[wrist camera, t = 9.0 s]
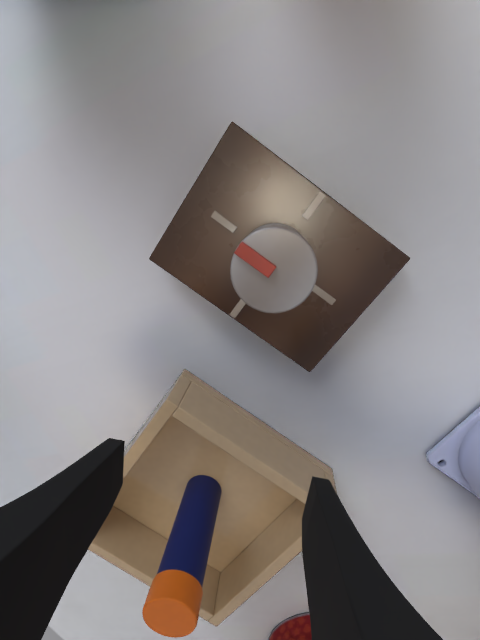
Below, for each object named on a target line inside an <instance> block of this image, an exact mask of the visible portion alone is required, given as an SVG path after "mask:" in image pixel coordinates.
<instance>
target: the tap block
mask: <svg viewBox="0 0 480 640" xmlns="http://www.w3.org/2000/svg"><path fill="white" fill-rule="evenodd" d="M270 223H281V224H285V225H288V226H290V227H292V228H294V229H296V230H297V231H298V232H299V233H300V234H301V235H302V236H303V237H304V238H305V240H306V241H307V242H308V243H309V245H310V246H311V248H312V249H313V251H314V254H315V257H316V260H317V268H318V272H317V279H316V283H315V286H314V288H313V290H312V292H311V293H310V295H309V296H308V297H307V298H306V300H305V301H304V302H302V303H301V304H300V305H299V306H297V307H295V308H293V309H291V310H289V311H286V312H282V313H265V312H261V311H258V310H256V309H253V308H252V307H250V306H248V305H247V304H246V303H245V302H244V301H243V300H242V299H241V298H240V297H239V296H238V294H237V293H236V291H235V289H234V287H233V284H232V280H231V274H230V266H231V260H232V257H233V254H234V252H235V250H236V248H237V247H238V245H239V244H240V243H241V241H242V240H243V239H244V238H246V237H247V236H248V235H249V234H250V233H251V232H253V231H254V230H255V229H257V228H258V227H260V226H263V225H266V224H270ZM149 259H150V260H151V261H153V262H154V263H156V264H157V265H158V266H160V267H161V268H163V269H164V270H165V271H167V272H168V273H170V274H171V275H173V276H174V277H175V278H177V279H178V280H180V281H181V282H182V283H184V284H185V285H187V286H188V287H190V288H191V289H192V290H194V291H195V292H197V293H198V294H199V295H201V296H202V297H204V298H205V299H207V300H208V301H209V302H211V303H212V304H214V305H215V306H217V307H218V308H219V309H221V310H222V311H224V312H225V313H226V314H228V315H229V316H231V317H232V318H234V319H235V320H236V321H238V322H239V323H241V324H242V325H243V326H245V327H246V328H248V329H249V330H251V331H252V332H253V333H255V334H256V335H258V336H259V337H260V338H262V339H263V340H265V341H266V342H268V343H269V344H270V345H272V346H273V347H275V348H276V349H277V350H279V351H280V352H282V353H283V354H285V355H286V356H287V357H289V358H290V359H292V360H293V361H294V362H296V363H297V364H299V365H300V366H302V367H303V368H304V369H306V370H307V371H309V372H310V371H311V370H312V369H313V368H314V367H315V366H316V365H317V364H318V362H319V361H320V360H321V359H322V358H323V357H324V356H325V355H326V353H327V352H328V351H329V350H330V349H331V348H332V347H333V346H334V344H335V343H336V342H337V341H338V340H339V339H340V338H341V336H342V335H343V334H344V333H345V332H346V331H347V330H348V329H349V327H350V326H351V325H352V324H353V323H354V322H355V321H356V320H357V318H358V317H359V316H360V315H361V314H362V313H363V312H364V310H365V309H366V308H367V307H368V306H369V305H370V304H371V303H372V301H373V300H374V299H375V298H376V297H377V296H378V295H379V294H380V292H381V291H382V290H383V289H384V288H385V287H386V286H387V285H388V283H389V282H390V281H391V280H392V279H393V278H394V277H395V275H396V274H397V273H398V272H399V271H400V270H401V269H402V268H403V266H404V265H405V264H406V263H407V262H408V261H409V260H410V257H408V256H407V255H406V254H404V253H403V252H402V251H400V250H399V249H398V248H397V247H395V246H394V245H393V244H391V243H390V242H389V241H387V240H386V239H385V238H384V237H382V236H381V235H380V234H378V233H377V232H376V231H374V230H373V229H372V228H371V227H369V226H368V225H367V224H365V223H364V222H363V221H361V220H360V219H359V218H357V217H356V216H355V215H354V214H352V213H351V212H350V211H348V210H347V209H346V208H344V207H343V206H342V205H341V204H339V203H338V202H337V201H335V200H334V199H333V198H331V197H330V196H329V195H328V194H326V193H325V192H324V191H322V190H321V189H320V188H318V187H317V186H316V185H315V184H313V183H312V182H311V181H309V180H308V179H307V178H305V177H304V176H303V175H302V174H300V173H299V172H298V171H296V170H295V169H294V168H292V167H291V166H290V165H289V164H287V163H286V162H285V161H283V160H282V159H281V158H279V157H278V156H277V155H275V154H274V153H273V152H272V151H270V150H269V149H268V148H266V147H265V146H264V145H262V144H261V143H260V142H259V141H257V140H256V139H255V138H253V137H252V136H251V135H249V134H248V133H247V132H246V131H244V130H243V129H242V128H240V127H239V126H238V125H236V124H235V123H234V122H231V124H230V125H229V127H228V129H227V130H226V132H225V134H224V135H223V137H222V138H221V140H220V142H219V143H218V145H217V147H216V148H215V150H214V152H213V153H212V155H211V157H210V158H209V160H208V162H207V163H206V165H205V167H204V168H203V170H202V172H201V173H200V175H199V177H198V178H197V180H196V182H195V183H194V185H193V186H192V188H191V190H190V191H189V193H188V195H187V196H186V198H185V200H184V201H183V203H182V205H181V206H180V208H179V210H178V211H177V213H176V215H175V216H174V218H173V220H172V221H171V223H170V225H169V226H168V228H167V230H166V231H165V233H164V235H163V236H162V238H161V239H160V241H159V243H158V244H157V246H156V248H155V249H154V251H153V253H152V254H151V256H150V258H149Z"/></svg>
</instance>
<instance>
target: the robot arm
mask: <svg viewBox="0 0 480 640" xmlns="http://www.w3.org/2000/svg"><path fill="white" fill-rule="evenodd" d="M426 459H427V460H428V462H429V463H430V464H431V465H433V466H434V467H436V468H437V469H438V470H440V471H441V472H443V473H444V474H445V475H447V476H448V477H450V478H451V479H453V480H454V481H455V482H457V483H458V484H460V485H461V486H463V487H464V488H465V489H467V490H468V491H470V492H471V493H472V494H474V495H475V496H477V497H478V498H479V499H480V407H479V408H478V409H476V410H475V411H474V412H473V413H472V414H471V415H470V416H468V417H467V418H466V419H465V420H464V421H463V422H462V423H460V424H459V425H458V426H457V427H456V428H455V429H454V430H452V431H451V432H450V433H449V434H448V435H447V436H446V437H444V438H443V439H442V440H441V441H440V442H439V443H438V444H436V445H435V446H434V447H433V448H432V449H431V450H430V451H428V453H427V454H426ZM440 460H443V461H442V462H441V463H438V462H439V461H440ZM123 467H124V441H122V440H116V439H111V438H109V439H107V440H106V441H104V442H103V443H101V444H100V445H99V446H97V447H96V448H95V449H93V450H92V451H90V452H89V453H88V454H86V455H85V456H83V457H82V458H81V459H79V460H78V461H76V462H75V463H73V464H72V465H71V466H69V467H68V468H66V469H65V470H63V471H62V472H60V473H59V474H57V475H56V476H54V477H53V478H51V479H50V480H48V481H46V482H45V483H43V484H42V485H40V486H38V487H37V488H35V489H33V490H32V491H30V492H28V493H27V494H25V495H23V496H21V497H19V498H17V499H16V500H14V501H12V502H10V503H8V504H6V505H4V506H2V507H0V640H41V639H42V637H43V635H44V632H45V630H46V628H47V626H48V624H49V622H50V620H51V617H52V615H53V613H54V611H55V609H56V607H57V605H58V603H59V601H60V599H61V597H62V595H63V593H64V591H65V589H66V587H67V585H68V583H69V581H70V579H71V577H72V575H73V574H74V572H75V570H76V568H77V567H78V565H79V563H80V562H81V560H82V558H83V557H84V555H85V553H86V552H87V550H88V548H89V547H90V545H91V543H92V541H93V540H94V538H95V536H96V535H97V533H98V531H99V530H100V528H101V526H102V525H103V523H104V521H105V520H106V518H107V516H108V514H109V513H110V511H111V509H112V507H113V505H114V503H115V500H116V498H117V496H118V494H119V491H120V489H121V487H122V485H123ZM302 553H303V562H304V571H305V579H306V588H307V596H308V605H309V613H310V623H311V635H312V640H443V639H442V638H441V637H440V636H439V635H438V634H437V633H436V632H435V631H434V630H433V629H432V628H431V627H430V625H429V624H428V623H427V622H426V621H425V620H424V619H423V618H422V617H421V615H420V614H419V613H418V612H417V611H416V610H415V609H414V607H413V606H412V605H411V604H410V603H409V602H408V601H407V599H406V598H405V597H404V596H403V595H402V593H401V592H400V591H399V590H398V588H397V587H396V586H395V585H394V583H393V582H392V581H391V579H390V578H389V577H388V575H387V574H386V573H385V571H384V570H383V569H382V567H381V566H380V564H379V563H378V562H377V560H376V559H375V557H374V556H373V554H372V553H371V551H370V550H369V548H368V547H367V545H366V544H365V542H364V540H363V539H362V537H361V536H360V534H359V532H358V531H357V529H356V527H355V526H354V524H353V522H352V521H351V519H350V517H349V515H348V514H347V512H346V510H345V508H344V506H343V505H342V503H341V501H340V499H339V497H338V495H337V493H336V491H335V489H334V487H333V485H332V483H331V482H330V480H329V479H324V478H319V477H313V476H312V480H311V484H310V488H309V492H308V496H307V500H306V504H305V508H304V512H303V516H302Z"/></svg>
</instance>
